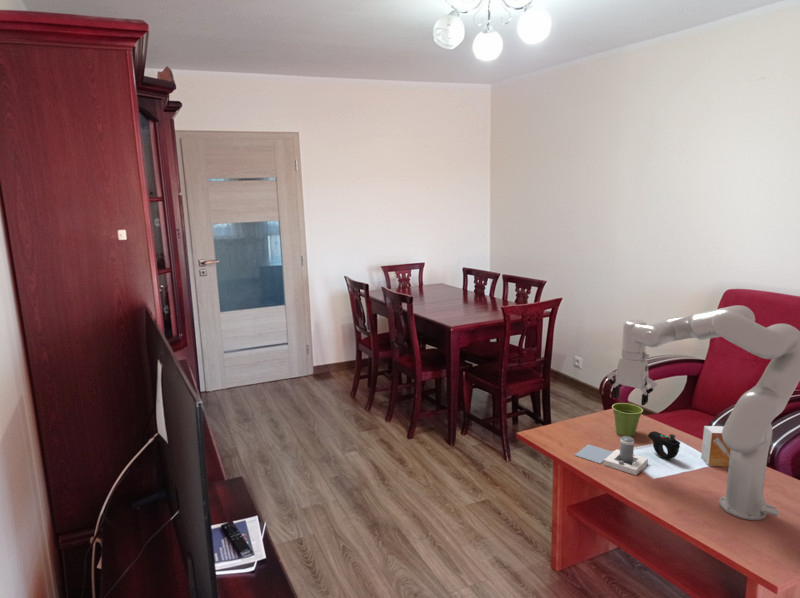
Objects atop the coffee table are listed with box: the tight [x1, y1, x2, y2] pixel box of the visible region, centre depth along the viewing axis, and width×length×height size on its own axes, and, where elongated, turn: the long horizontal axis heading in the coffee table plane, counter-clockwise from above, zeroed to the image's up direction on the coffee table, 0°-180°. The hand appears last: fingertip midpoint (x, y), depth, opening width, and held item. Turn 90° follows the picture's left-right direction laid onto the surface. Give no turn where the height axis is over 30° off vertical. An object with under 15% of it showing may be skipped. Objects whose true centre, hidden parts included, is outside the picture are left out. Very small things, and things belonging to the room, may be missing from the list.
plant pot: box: [611, 402, 644, 437], centre depth 222 cm, size 12×12×11 cm
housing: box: [603, 448, 649, 476], centre depth 197 cm, size 12×12×3 cm
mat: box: [574, 443, 614, 465], centre depth 206 cm, size 10×12×1 cm
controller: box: [647, 430, 681, 460], centre depth 202 cm, size 4×12×10 cm, turn 23°
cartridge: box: [618, 436, 635, 465], centre depth 197 cm, size 5×5×10 cm
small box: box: [700, 425, 731, 468], centre depth 197 cm, size 8×6×13 cm
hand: (629, 400), depth 193 cm, fingers open, 9 cm apart
